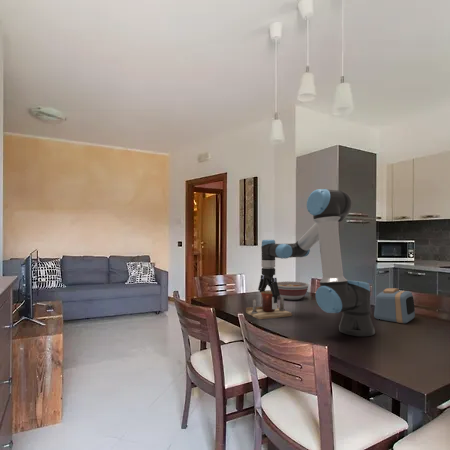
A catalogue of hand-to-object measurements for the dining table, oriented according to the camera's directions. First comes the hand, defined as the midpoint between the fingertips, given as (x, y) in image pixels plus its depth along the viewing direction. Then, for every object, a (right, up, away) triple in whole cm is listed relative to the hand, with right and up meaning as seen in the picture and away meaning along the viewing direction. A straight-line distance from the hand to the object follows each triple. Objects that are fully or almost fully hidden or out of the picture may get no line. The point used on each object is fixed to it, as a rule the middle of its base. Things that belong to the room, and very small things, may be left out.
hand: (268, 306), depth 190 cm
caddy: (0, -4, 0) cm, 4 cm away
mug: (0, -3, 0) cm, 3 cm away
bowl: (+21, -5, +45) cm, 50 cm away
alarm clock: (+64, -4, -10) cm, 65 cm away
